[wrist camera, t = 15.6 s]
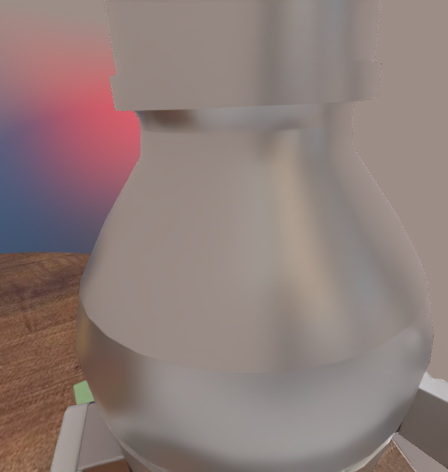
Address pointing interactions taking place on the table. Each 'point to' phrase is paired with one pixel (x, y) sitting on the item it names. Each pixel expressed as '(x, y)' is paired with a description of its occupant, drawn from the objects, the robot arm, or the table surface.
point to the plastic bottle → (250, 247)
